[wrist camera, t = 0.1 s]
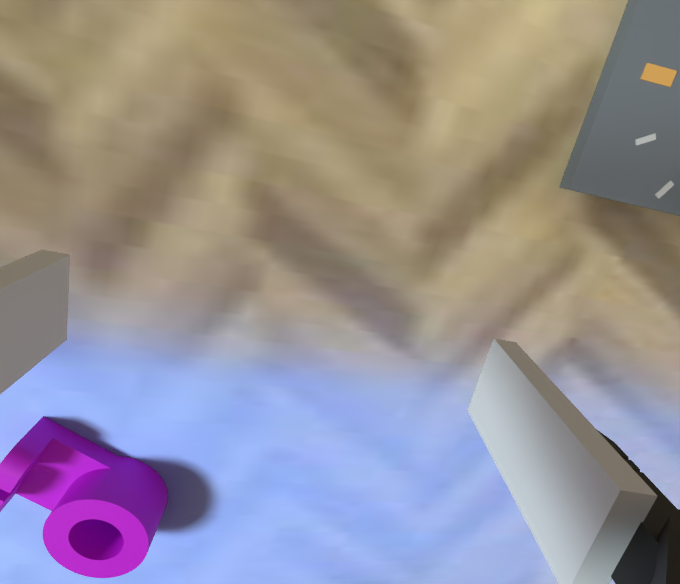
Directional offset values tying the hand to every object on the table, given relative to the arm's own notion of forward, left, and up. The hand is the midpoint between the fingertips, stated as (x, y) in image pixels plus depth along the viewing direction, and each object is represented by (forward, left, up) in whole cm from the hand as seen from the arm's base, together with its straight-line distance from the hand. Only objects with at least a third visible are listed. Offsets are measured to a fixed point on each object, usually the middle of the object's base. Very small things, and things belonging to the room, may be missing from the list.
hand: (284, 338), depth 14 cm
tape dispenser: (+34, -16, -28) cm, 47 cm away
